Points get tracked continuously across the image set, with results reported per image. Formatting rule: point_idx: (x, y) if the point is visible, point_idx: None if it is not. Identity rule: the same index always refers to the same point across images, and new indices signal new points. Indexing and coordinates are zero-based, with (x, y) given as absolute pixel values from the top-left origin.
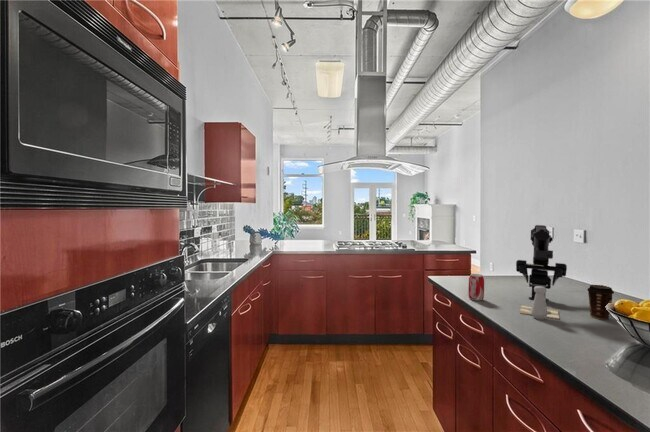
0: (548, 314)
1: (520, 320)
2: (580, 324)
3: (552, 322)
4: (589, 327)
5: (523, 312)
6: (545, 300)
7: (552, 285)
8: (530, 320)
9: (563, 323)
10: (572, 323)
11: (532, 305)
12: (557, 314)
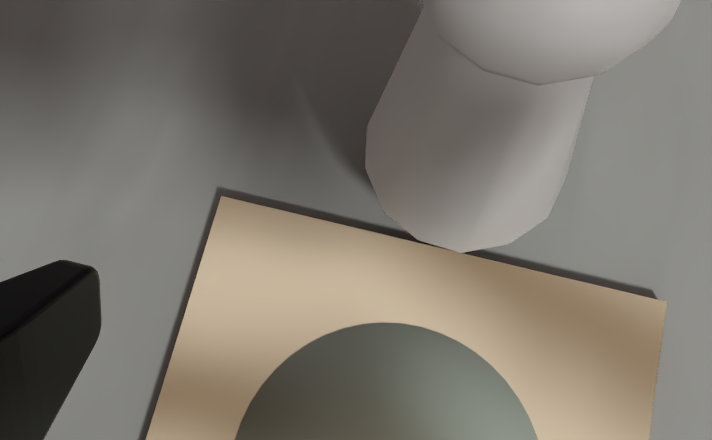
0: (301, 345)
1: (681, 12)
2: (53, 86)
3: (343, 57)
4: (6, 12)
5: (619, 325)
6: (410, 38)
7: (99, 324)
8: None
9: (231, 61)
10: (128, 94)
11: (575, 141)
12: (175, 388)
